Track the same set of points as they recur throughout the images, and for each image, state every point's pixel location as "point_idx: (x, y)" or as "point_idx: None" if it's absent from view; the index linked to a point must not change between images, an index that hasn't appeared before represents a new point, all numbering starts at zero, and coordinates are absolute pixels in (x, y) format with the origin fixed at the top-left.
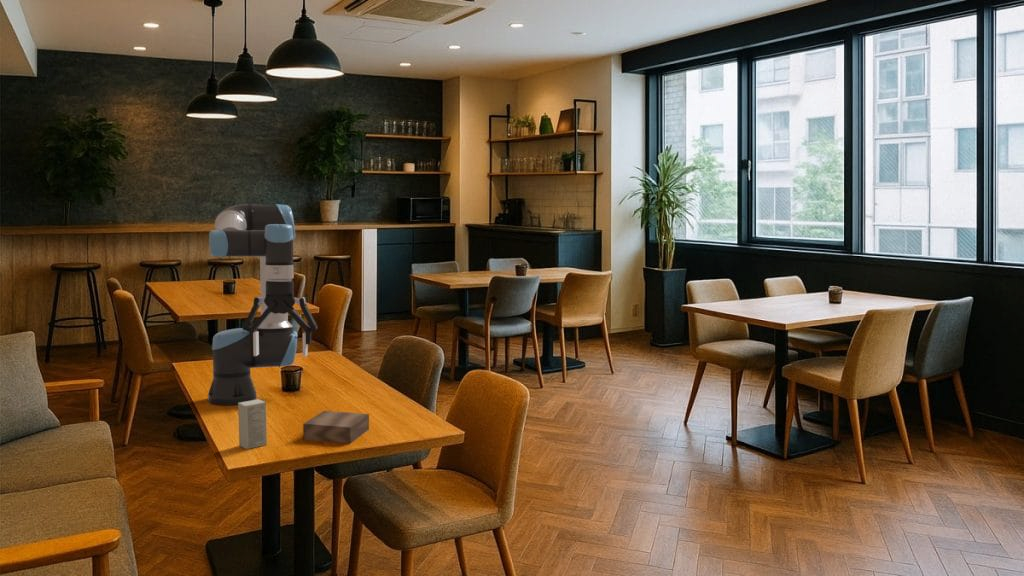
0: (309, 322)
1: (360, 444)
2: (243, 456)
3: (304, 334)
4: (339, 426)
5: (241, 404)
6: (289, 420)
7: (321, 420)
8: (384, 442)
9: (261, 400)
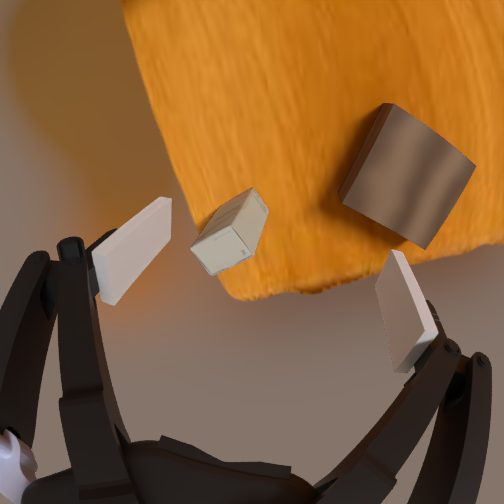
0: (439, 428)
1: None
2: None
3: (402, 367)
4: (408, 239)
5: (200, 260)
6: (302, 42)
7: (382, 188)
8: (461, 241)
9: (240, 238)
